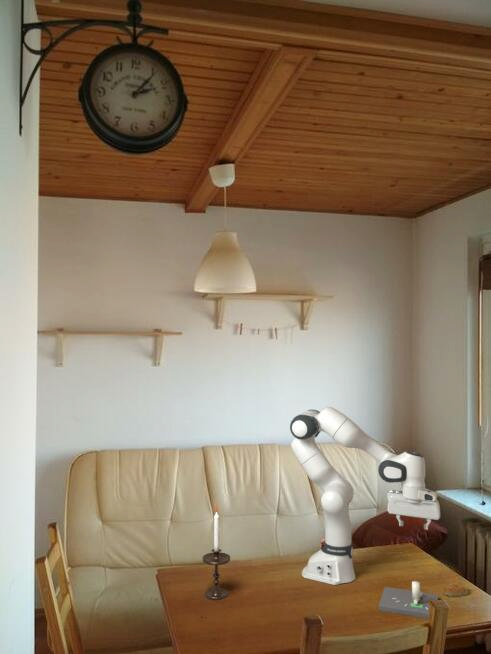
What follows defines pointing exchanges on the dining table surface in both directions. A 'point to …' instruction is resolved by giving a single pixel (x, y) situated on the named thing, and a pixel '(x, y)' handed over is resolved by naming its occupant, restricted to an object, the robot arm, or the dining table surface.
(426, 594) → the dial plate
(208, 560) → the candlestick
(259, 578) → the dining table surface
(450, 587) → the pastry
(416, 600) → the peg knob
